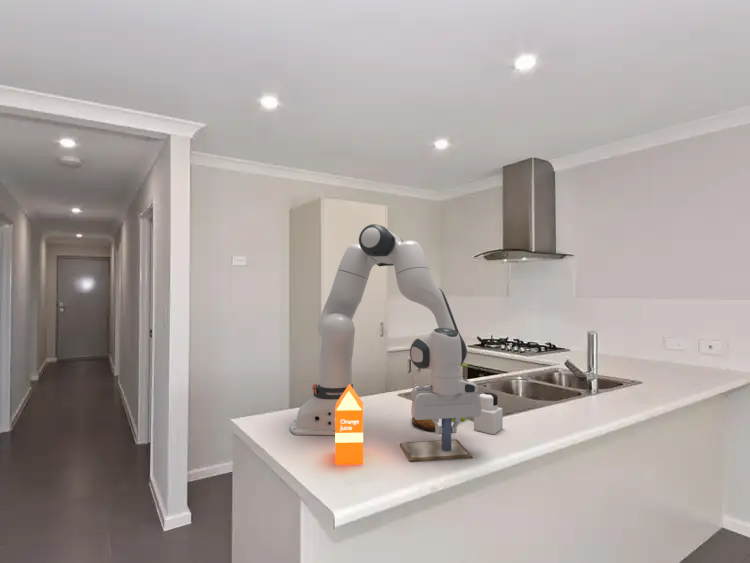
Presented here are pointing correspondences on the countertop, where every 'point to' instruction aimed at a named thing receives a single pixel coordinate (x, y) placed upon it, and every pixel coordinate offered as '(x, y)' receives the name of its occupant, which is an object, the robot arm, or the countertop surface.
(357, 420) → the orange juice
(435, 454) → the metal serving tray
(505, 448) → the countertop surface
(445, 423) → the marker
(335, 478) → the countertop surface
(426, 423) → the croissant
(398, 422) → the countertop surface
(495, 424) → the medicine bottle
